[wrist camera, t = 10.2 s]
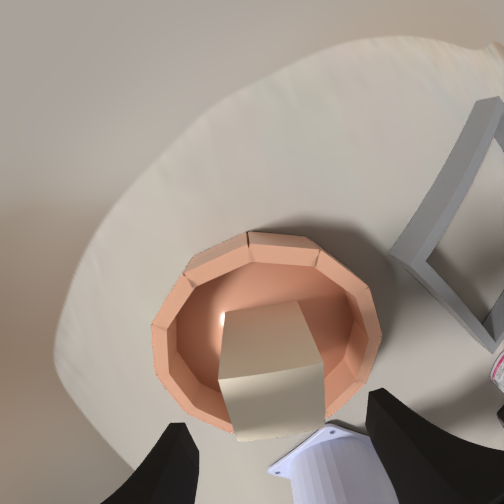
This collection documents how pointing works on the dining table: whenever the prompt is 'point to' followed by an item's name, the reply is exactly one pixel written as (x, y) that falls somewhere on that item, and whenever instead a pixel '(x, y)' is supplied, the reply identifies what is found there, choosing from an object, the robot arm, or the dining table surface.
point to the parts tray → (443, 210)
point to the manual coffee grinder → (501, 416)
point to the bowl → (255, 295)
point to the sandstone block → (271, 372)
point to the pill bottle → (498, 372)
